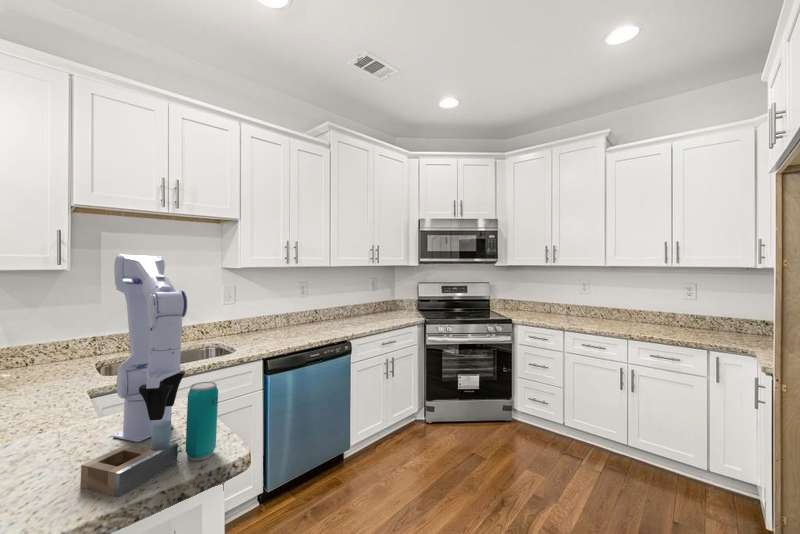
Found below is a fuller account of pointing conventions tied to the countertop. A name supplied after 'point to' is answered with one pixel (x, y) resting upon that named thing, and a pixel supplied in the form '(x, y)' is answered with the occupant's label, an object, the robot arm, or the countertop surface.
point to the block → (109, 468)
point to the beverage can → (201, 420)
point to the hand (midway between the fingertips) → (162, 412)
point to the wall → (145, 469)
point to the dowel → (160, 435)
